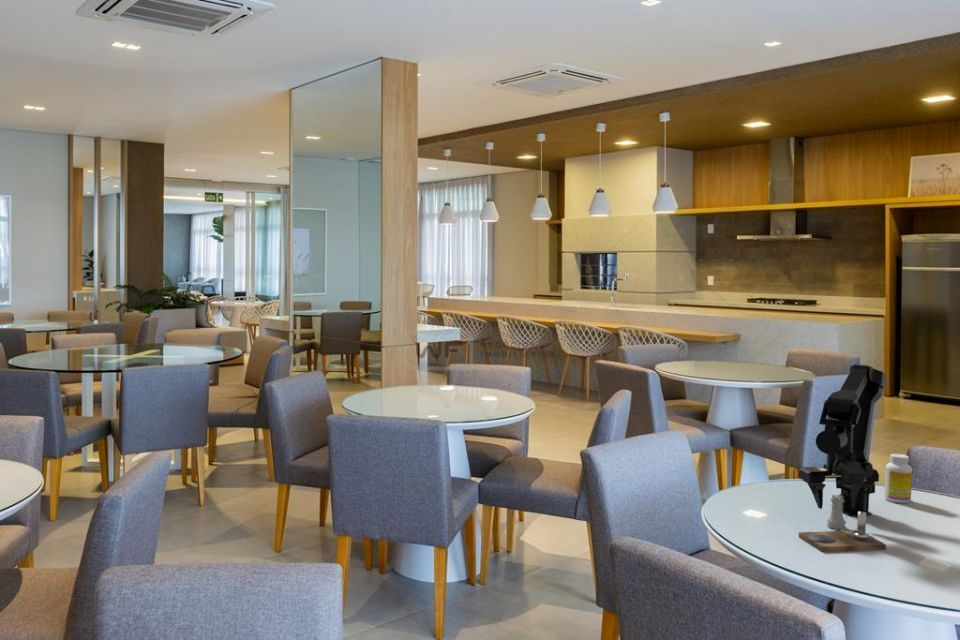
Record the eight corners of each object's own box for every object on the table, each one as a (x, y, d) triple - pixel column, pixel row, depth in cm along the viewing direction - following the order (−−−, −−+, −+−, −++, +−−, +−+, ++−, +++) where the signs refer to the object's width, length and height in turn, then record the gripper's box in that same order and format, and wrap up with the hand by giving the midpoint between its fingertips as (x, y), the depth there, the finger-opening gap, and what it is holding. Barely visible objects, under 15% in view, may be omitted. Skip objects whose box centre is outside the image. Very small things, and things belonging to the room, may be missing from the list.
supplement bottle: (915, 504, 222) (917, 458, 222) (891, 503, 223) (893, 458, 222) (903, 497, 229) (905, 453, 228) (879, 496, 229) (881, 452, 228)
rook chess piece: (823, 524, 204) (824, 493, 203) (839, 524, 204) (841, 493, 204) (832, 530, 199) (833, 499, 199) (849, 530, 200) (850, 498, 199)
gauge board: (859, 534, 196) (859, 529, 196) (885, 549, 186) (885, 544, 186) (798, 537, 194) (798, 531, 194) (821, 552, 184) (821, 546, 184)
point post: (863, 534, 193) (864, 510, 192) (871, 539, 189) (872, 514, 189) (850, 535, 192) (851, 510, 192) (858, 539, 189) (859, 514, 189)
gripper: (822, 455, 191) (820, 519, 192) (894, 453, 194) (891, 516, 195) (798, 444, 202) (795, 505, 203) (866, 443, 205) (863, 503, 206)
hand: (837, 507), depth 202 cm, fingers open, 9 cm apart
